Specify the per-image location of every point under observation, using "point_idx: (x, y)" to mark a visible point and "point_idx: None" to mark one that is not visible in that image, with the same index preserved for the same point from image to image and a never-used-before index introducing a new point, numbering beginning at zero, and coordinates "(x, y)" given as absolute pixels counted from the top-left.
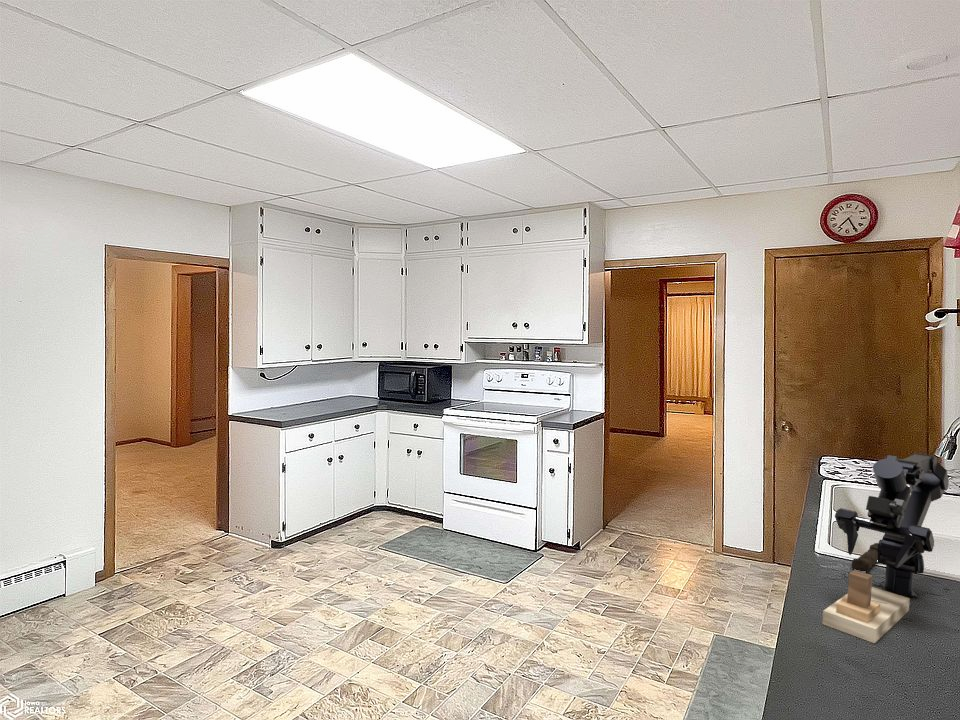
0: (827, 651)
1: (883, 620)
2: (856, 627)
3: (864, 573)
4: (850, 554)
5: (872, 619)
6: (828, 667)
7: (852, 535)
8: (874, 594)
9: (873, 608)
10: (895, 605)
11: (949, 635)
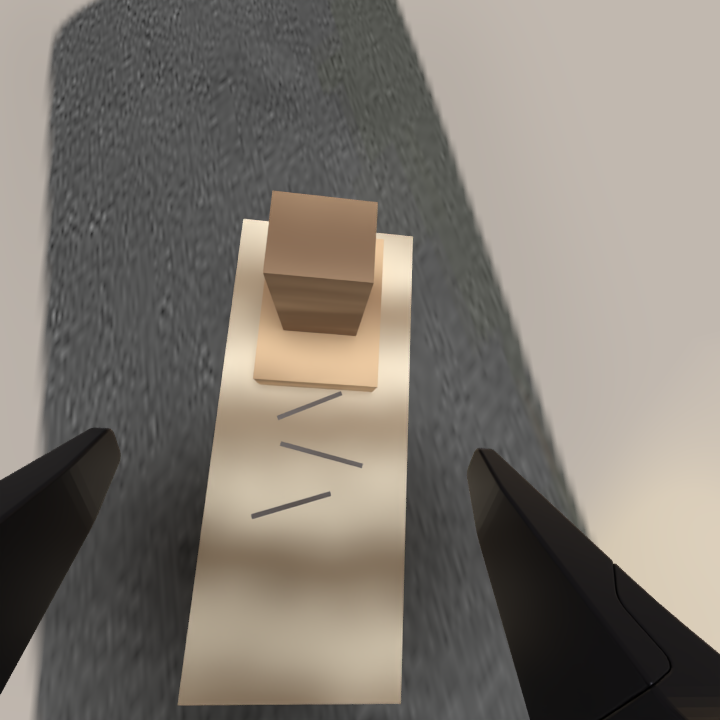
0: (338, 110)
1: (234, 315)
2: None
3: (310, 271)
4: (469, 468)
5: None
6: (312, 38)
7: (599, 609)
8: (318, 590)
9: (265, 299)
10: (221, 529)
11: None
